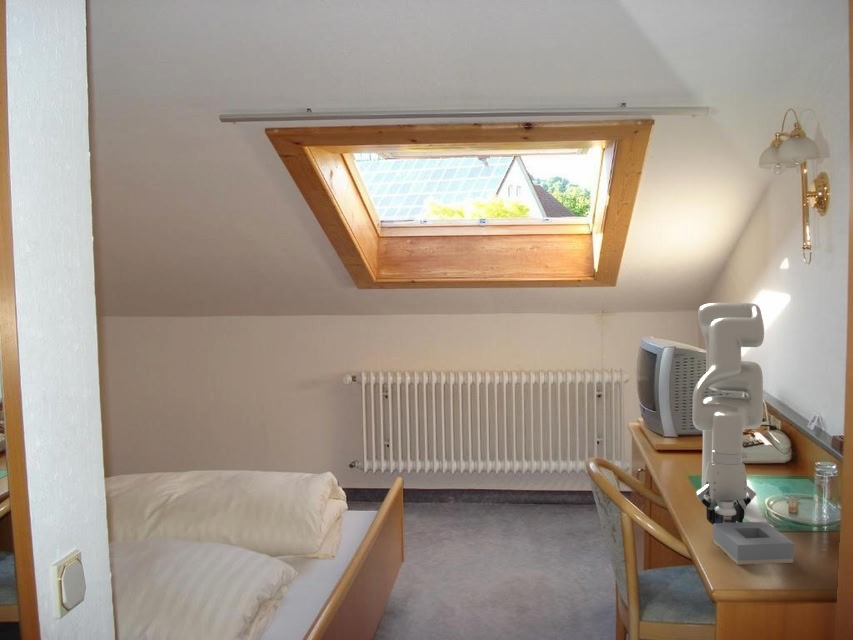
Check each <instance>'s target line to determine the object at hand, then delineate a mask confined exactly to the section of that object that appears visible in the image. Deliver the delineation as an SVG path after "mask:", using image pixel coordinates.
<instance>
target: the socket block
mask: <svg viewBox="0 0 853 640" xmlns="http://www.w3.org/2000/svg"><path fill="white" fill-rule="evenodd" d="M712 543H714V545H715V546H716V547H718V546H719V547H720V548H721V549H722V550H723V551H724V552H725V553H726V554H727V555H726V554H725V553H724V552H723V551H722V550H721V549H720V548H719V547H718V548H719V549H720V550H721V551H722V552H723V553H724V554H725V555H726V556H727V557H729V559H731V560H732V561H733V562H734V563H735V564H736V565H737V566H738V565H739V566H740V565H741V566H742V565H767V564H771V565H772V564H790V563H791V564H793V563H794V556H795V555H794V554H795V553H794V550H795V549H794V548H795V542H793V541H792V540H790V539H789V538H788V537H787V536H785V535H784V534H783V533H781V532H780V531H778V530H777V529H776V528H775V527H773V526H772V525H770V524H769V523H768V522H767V521H751V522H749V521H748V522H744V521H743V523H739V522H736V523H713V526H712Z"/></svg>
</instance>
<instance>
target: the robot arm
mask: <svg viewBox="0 0 853 640" xmlns="http://www.w3.org/2000/svg"><path fill="white" fill-rule="evenodd" d="M697 320H698V324H699V329H700V331H701V332H700V333H701V334H702V337H703V339H704V343H705V373H704V374H703V375H702V376H701V377H700V378H699V380H698V381H697V382H696V385H695V387H694V389H693V392H692V410H691V411H692V415H691V416H692V424H693V426H694V427H695V428H696V430H699V431H702V457H701V459H702V462H701V463H702V464H701V487H700V488H698V489H696V490H695V491H696V492H695V497H697V499H698V500H699V501H700V503H702V504H703V505H704V506H705V507H706V520H707V521H708V523H710V524H711V525H713V523H715V508H716V507H715V506H716V504H718V501H725V500H733V501H734V504H735V503H736V504H735V505H734V509H735V510H736V523H743V522H744V519H745V510H747V506H748V505H749V504H750V503H751V502H752V500H753V499H754V498H755V496H756V495H757V493H756V492H755V491H754V490H753V489H752V488H750V487H749V486H748V479H747V472H746V471H747V470H746V467H745V466H746V465H745V463H744V462H743V461H744V459H746V458H747V457H748V454H747V452H743V442H744V441H743V440H744V439H743V438H744V431H745V430H756V429H759V428H760V427H761V426H762V425H763V419H764V378H763V376H764V375H763V370H762V367H761V365H760V364H759V363H758V362H754V361H749V360H742V348H758V347H761V346H762V345H763V343H764V340H765V339H764V338H765V326H764V320H763V316H762V312H761V309H760V307H759V305H757V304H756V303H750V302H749V303H748V302H711V303H709V302H708V303H705V304H702V305H700V306H699V307H698V311H697ZM707 389H710V390H711V391H716V392H724V393H725V392H726V393H727V392H728V393H744V394H745V396H731V395H730V396H729V395H726V396H725V395H711V396H707V397H705V398H704V395H705V392H706V390H707Z"/></svg>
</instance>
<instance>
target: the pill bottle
mask: <svg viewBox="0 0 853 640" xmlns="http://www.w3.org/2000/svg"><path fill="white" fill-rule="evenodd" d="M714 510H715V523H737V521H736V510H735V503H734V501H733V500H725V501H718V503H717V506H716V507H714Z"/></svg>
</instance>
